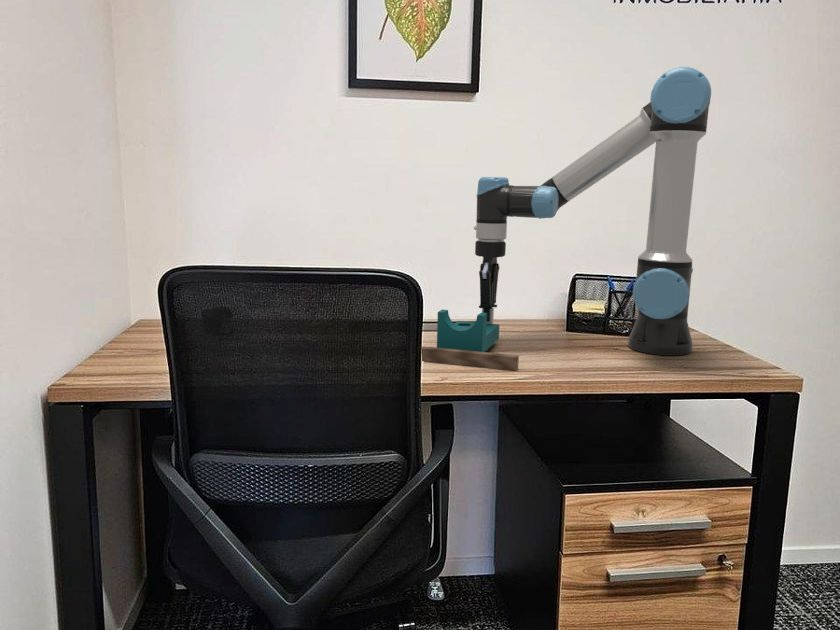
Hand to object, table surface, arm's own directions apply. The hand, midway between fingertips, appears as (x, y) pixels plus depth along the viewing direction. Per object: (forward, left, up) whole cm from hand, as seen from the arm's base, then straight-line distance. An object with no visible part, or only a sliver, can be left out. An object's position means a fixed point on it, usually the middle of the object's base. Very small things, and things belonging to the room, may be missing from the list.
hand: (487, 333), depth 176 cm
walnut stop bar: (-1, +24, -2) cm, 24 cm away
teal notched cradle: (+2, +10, -3) cm, 10 cm away
